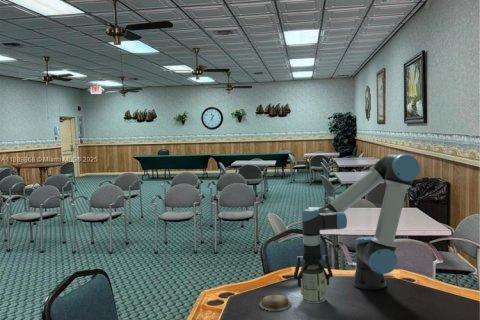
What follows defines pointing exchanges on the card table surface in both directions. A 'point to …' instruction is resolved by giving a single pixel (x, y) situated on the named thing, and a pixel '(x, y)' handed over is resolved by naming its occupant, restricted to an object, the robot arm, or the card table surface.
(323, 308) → the card table surface
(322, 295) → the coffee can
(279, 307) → the brown domed disc
